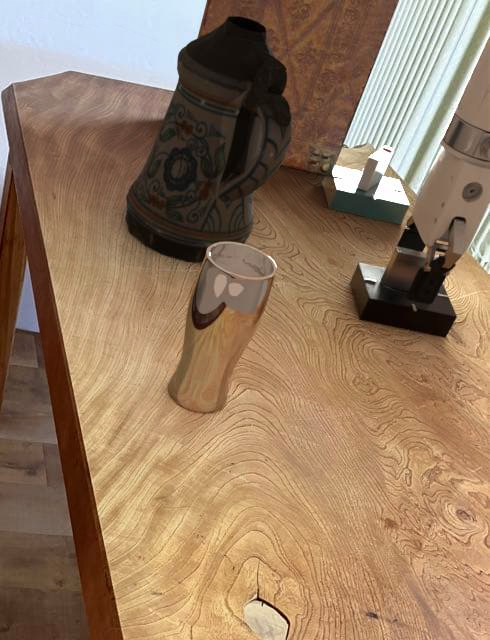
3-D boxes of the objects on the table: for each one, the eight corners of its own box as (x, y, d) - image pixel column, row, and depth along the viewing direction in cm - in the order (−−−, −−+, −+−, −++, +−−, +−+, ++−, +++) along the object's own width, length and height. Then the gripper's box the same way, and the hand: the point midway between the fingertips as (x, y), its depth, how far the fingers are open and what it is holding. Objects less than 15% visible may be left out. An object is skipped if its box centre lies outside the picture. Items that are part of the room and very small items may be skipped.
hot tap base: (360, 323, 107) (370, 300, 105) (348, 280, 115) (358, 257, 113) (447, 341, 108) (459, 319, 106) (429, 297, 116) (440, 275, 114)
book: (172, 138, 138) (229, -92, 117) (176, 118, 145) (231, -104, 124) (331, 177, 139) (416, -45, 118) (328, 155, 145) (408, -59, 124)
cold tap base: (329, 211, 129) (338, 190, 127) (321, 181, 137) (329, 160, 135) (402, 227, 130) (411, 206, 128) (389, 196, 138) (398, 176, 136)
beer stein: (162, 191, 124) (213, -12, 106) (285, 249, 118) (360, 44, 100) (97, 224, 113) (142, 4, 95) (229, 290, 107) (302, 69, 90)
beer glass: (229, 382, 93) (277, 249, 83) (230, 422, 88) (281, 286, 78) (164, 368, 93) (204, 233, 82) (161, 407, 88) (204, 269, 77)
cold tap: (366, 191, 129) (379, 159, 126) (356, 187, 130) (369, 154, 126) (381, 180, 133) (394, 148, 130) (371, 176, 134) (384, 144, 131)
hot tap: (382, 286, 109) (399, 250, 105) (380, 279, 110) (396, 244, 106) (433, 297, 109) (451, 261, 106) (430, 290, 110) (448, 255, 107)
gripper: (534, 179, 91) (455, 324, 103) (492, 117, 103) (426, 253, 115) (464, 163, 90) (393, 311, 102) (430, 103, 103) (370, 241, 115)
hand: (410, 280), depth 109 cm, fingers open, 9 cm apart
